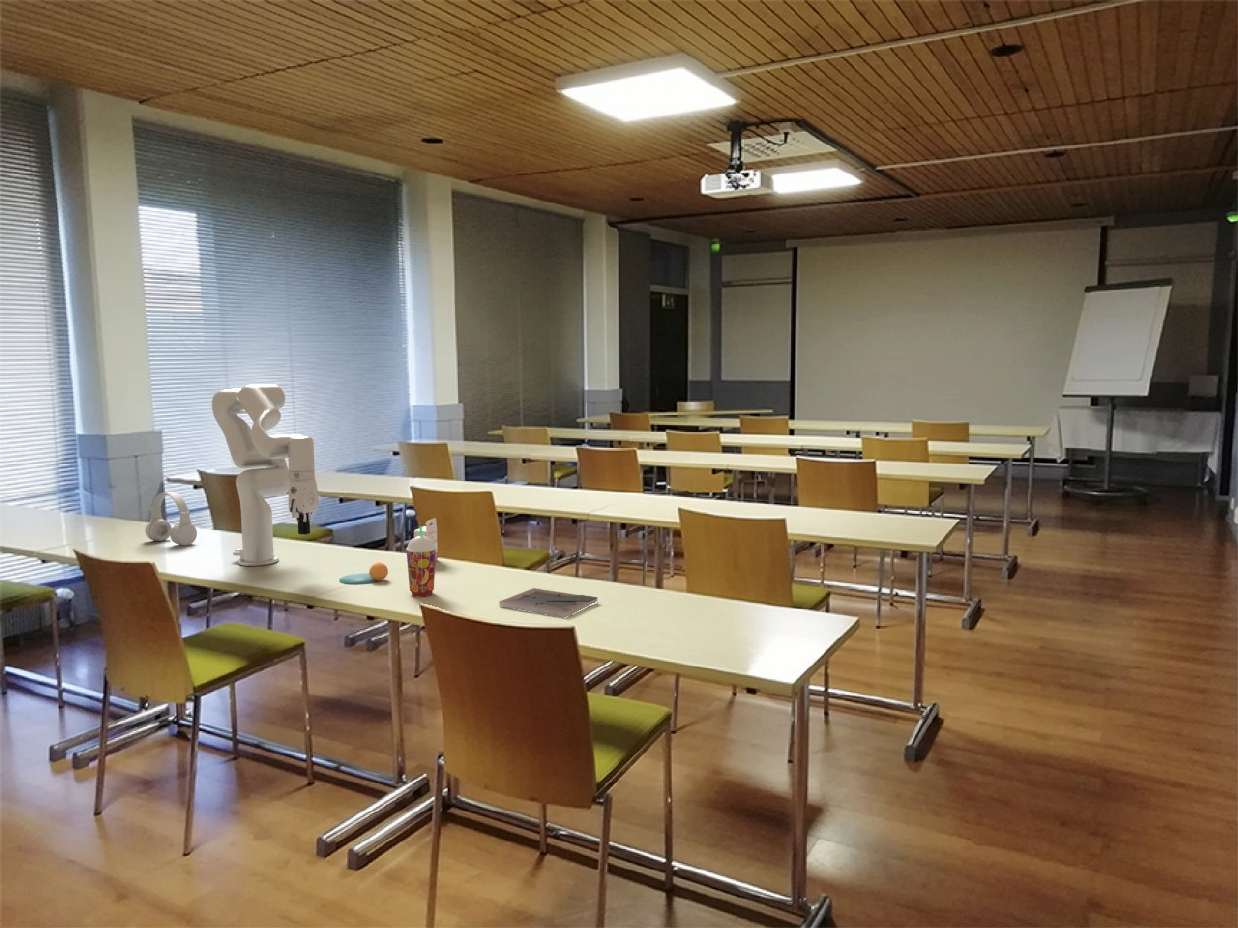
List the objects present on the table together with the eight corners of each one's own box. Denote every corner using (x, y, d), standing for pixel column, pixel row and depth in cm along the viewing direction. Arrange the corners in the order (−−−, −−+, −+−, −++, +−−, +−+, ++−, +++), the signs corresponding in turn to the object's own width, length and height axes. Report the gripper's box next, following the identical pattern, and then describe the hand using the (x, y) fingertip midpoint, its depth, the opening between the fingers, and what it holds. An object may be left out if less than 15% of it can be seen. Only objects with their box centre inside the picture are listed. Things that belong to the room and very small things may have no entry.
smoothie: (405, 592, 247) (403, 524, 245) (433, 589, 250) (432, 522, 248) (409, 599, 239) (408, 529, 237) (439, 596, 243) (438, 527, 240)
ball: (385, 571, 257) (376, 585, 258) (394, 567, 262) (385, 581, 263) (371, 561, 258) (362, 575, 259) (380, 557, 263) (371, 571, 264)
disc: (331, 582, 257) (331, 582, 257) (352, 573, 270) (352, 572, 270) (370, 585, 255) (370, 584, 255) (390, 575, 267) (390, 574, 267)
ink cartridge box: (424, 559, 291) (423, 517, 289) (438, 559, 290) (437, 517, 288) (413, 564, 282) (412, 521, 281) (427, 565, 281) (426, 521, 280)
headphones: (144, 542, 317) (141, 491, 315) (166, 538, 324) (163, 488, 322) (177, 548, 307) (174, 495, 305) (198, 544, 315) (196, 492, 312)
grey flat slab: (597, 605, 236) (533, 595, 247) (597, 597, 236) (533, 587, 246) (565, 620, 222) (499, 609, 232) (565, 611, 222) (499, 600, 232)
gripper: (299, 479, 255) (301, 538, 257) (325, 473, 269) (327, 530, 271) (277, 478, 256) (279, 537, 258) (304, 472, 271) (306, 529, 273)
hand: (304, 533), depth 265 cm, fingers closed
